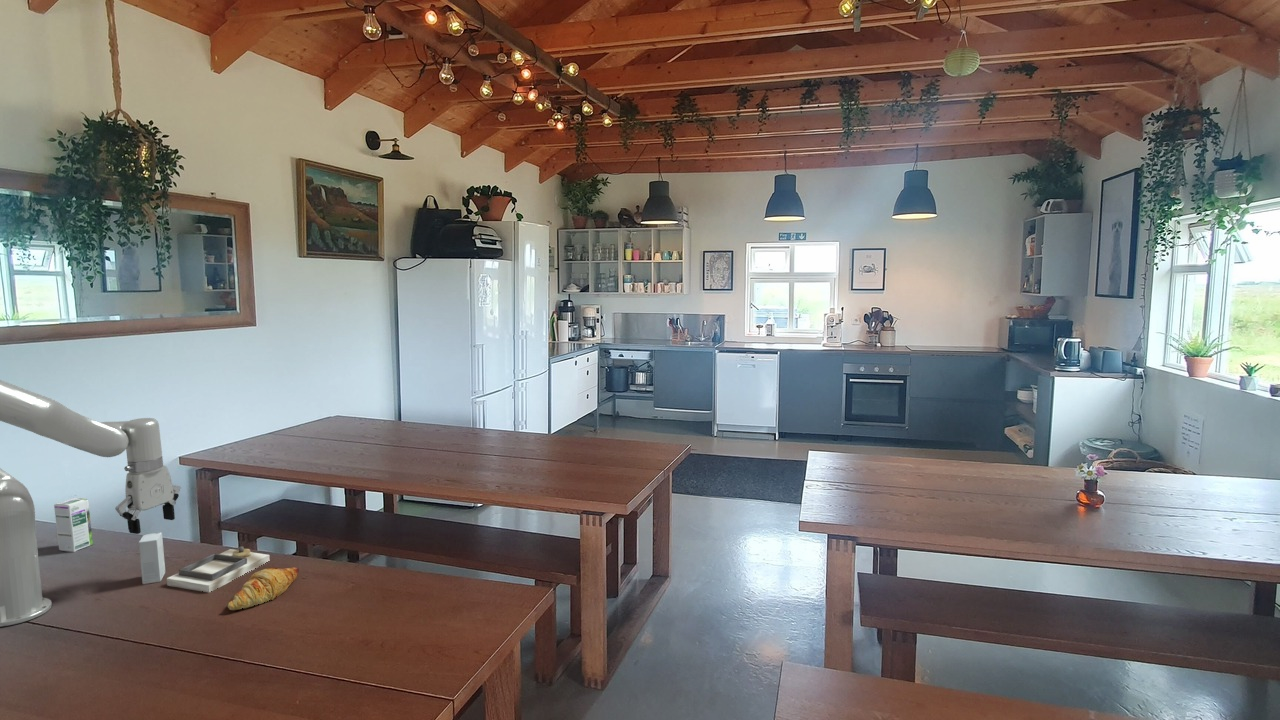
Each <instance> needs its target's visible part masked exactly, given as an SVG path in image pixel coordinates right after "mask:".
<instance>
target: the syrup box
mask: <svg viewBox="0 0 1280 720" xmlns="http://www.w3.org/2000/svg"><path fill="white" fill-rule="evenodd" d="M53 508H54V509H53V510H54V518H55V524H56V526H55V527H56V535H57V542H58V550H59V551H64V552H70V553H75V552H77V551H79V550H83V549H85V548H88V547H90V546H93V545H94V541H93V534H92V533H93V531H92V523H91V514H90V513H91V512H90V505H89V499H87V498H81V497H73V498H70V499H68V500H64V501H62V502H58V503H55V504H54V505H53Z"/></svg>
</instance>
